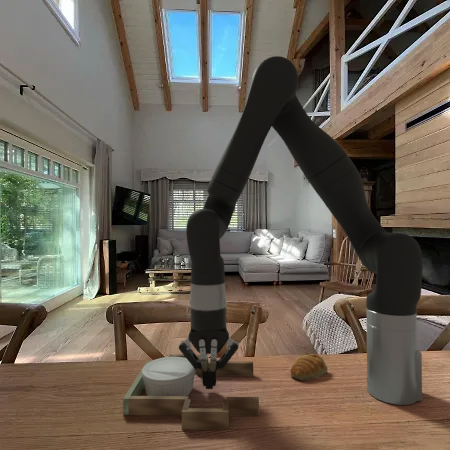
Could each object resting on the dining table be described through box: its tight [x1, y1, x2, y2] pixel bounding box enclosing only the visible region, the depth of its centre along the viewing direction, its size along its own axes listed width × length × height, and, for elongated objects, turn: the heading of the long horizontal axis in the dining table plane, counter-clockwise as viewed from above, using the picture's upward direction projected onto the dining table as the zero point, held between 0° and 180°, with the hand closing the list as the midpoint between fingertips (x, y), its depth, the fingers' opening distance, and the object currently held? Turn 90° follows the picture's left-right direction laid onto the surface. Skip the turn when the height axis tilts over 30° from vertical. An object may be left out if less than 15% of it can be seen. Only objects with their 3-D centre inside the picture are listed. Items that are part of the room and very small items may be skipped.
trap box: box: [122, 353, 260, 431], centre depth 68 cm, size 25×25×3 cm
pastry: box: [290, 353, 329, 381], centre depth 76 cm, size 9×7×4 cm
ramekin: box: [141, 356, 196, 396], centre depth 68 cm, size 11×11×5 cm
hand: (209, 387), depth 68 cm, fingers closed
